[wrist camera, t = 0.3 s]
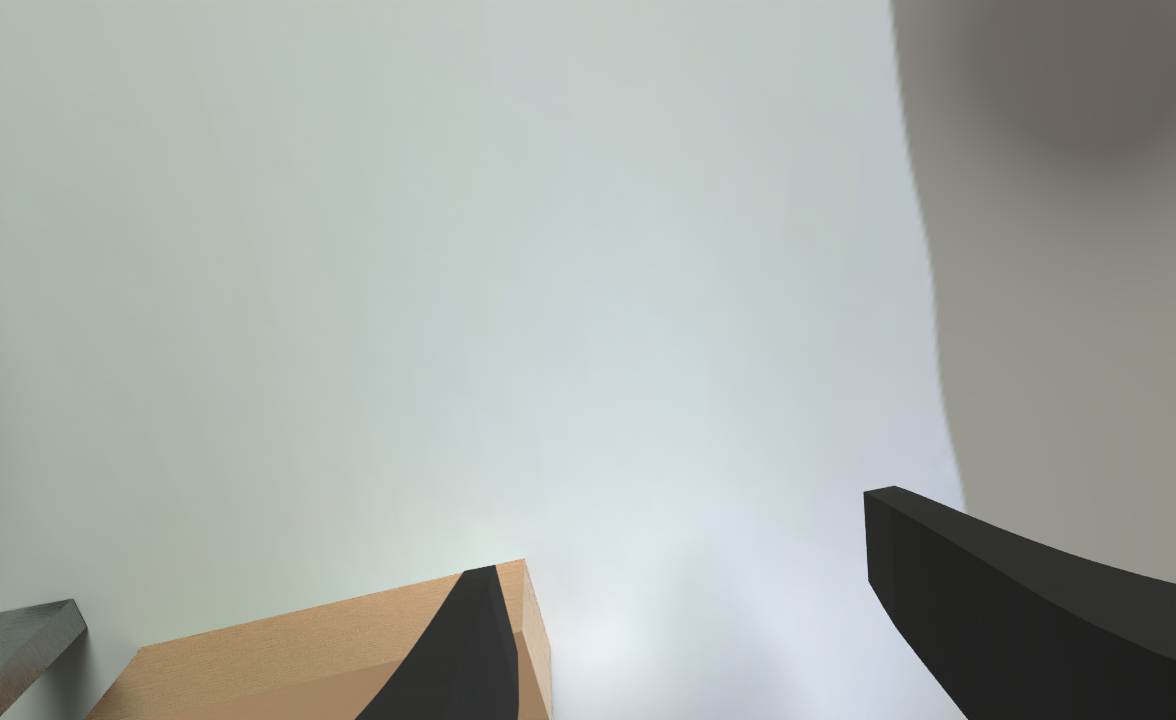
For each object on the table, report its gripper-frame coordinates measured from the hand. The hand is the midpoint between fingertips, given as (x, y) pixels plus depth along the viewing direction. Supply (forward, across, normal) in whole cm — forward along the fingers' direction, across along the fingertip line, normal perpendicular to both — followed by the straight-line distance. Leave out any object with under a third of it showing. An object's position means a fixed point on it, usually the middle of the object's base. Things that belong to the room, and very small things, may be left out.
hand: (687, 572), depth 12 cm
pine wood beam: (+10, +11, +8) cm, 17 cm away
